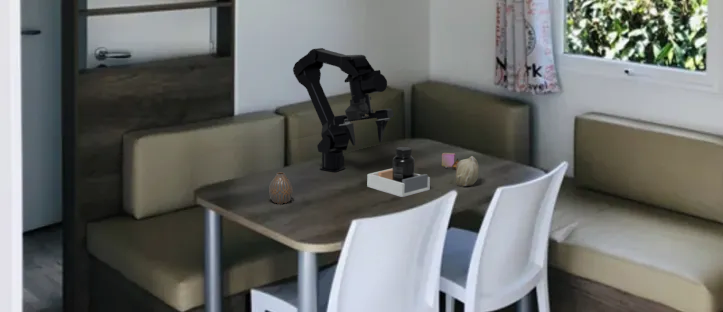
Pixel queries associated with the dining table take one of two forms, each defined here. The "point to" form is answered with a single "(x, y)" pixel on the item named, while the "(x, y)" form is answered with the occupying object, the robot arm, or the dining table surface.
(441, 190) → the dining table surface
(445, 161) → the perfume bottle
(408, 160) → the supplement bottle
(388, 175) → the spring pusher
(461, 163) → the garlic bulb
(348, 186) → the dining table surface
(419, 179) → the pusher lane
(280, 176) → the vase
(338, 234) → the dining table surface
